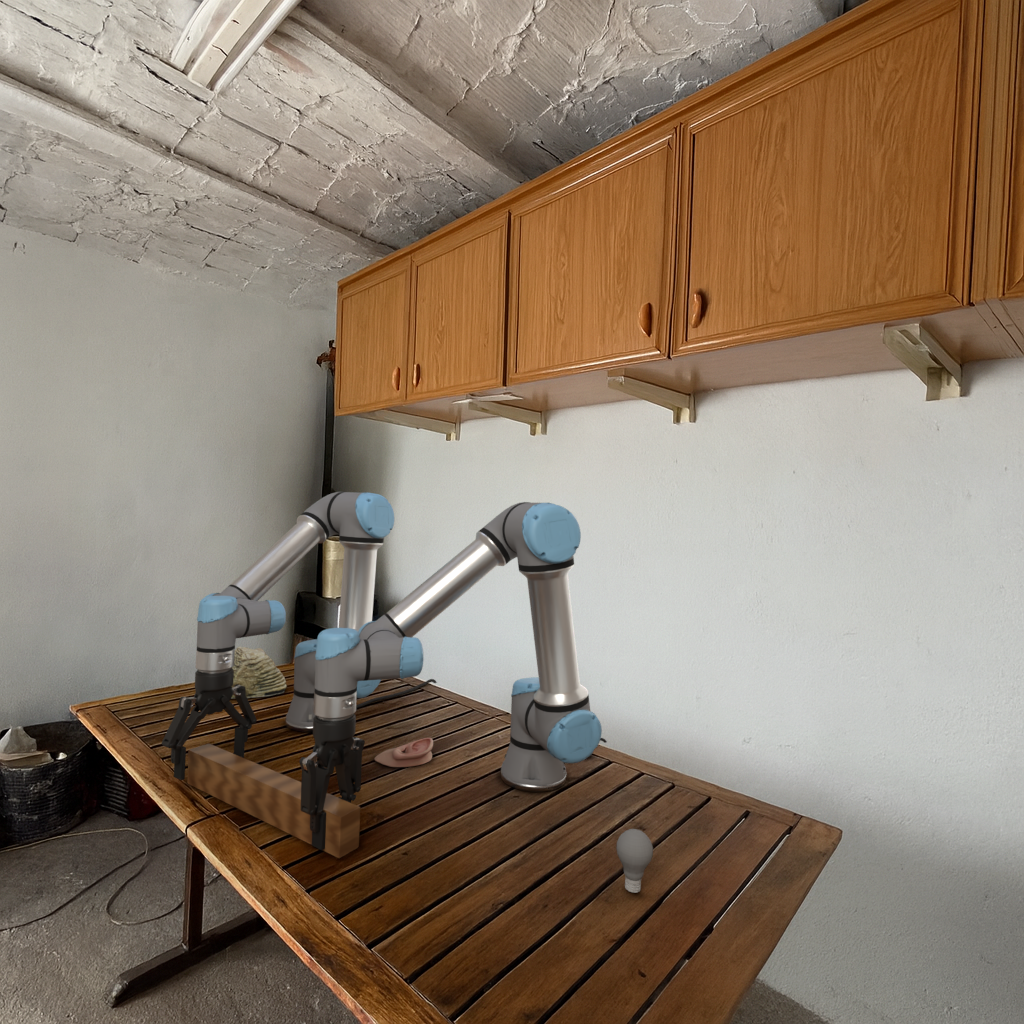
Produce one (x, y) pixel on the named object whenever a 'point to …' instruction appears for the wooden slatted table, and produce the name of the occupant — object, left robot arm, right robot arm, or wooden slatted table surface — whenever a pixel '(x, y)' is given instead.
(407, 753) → the beige rounded piece
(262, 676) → the fossil
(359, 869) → the wooden slatted table surface
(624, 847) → the light bulb
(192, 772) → the beam
